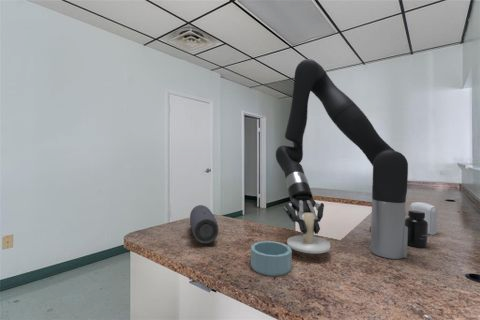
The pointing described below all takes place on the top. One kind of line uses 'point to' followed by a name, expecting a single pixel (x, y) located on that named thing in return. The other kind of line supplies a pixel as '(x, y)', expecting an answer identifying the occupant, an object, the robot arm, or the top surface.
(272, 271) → the bowl
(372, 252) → the robot arm
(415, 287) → the top surface
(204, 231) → the bluetooth speaker
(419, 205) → the photo printer
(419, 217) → the supplement bottle
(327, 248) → the lid
